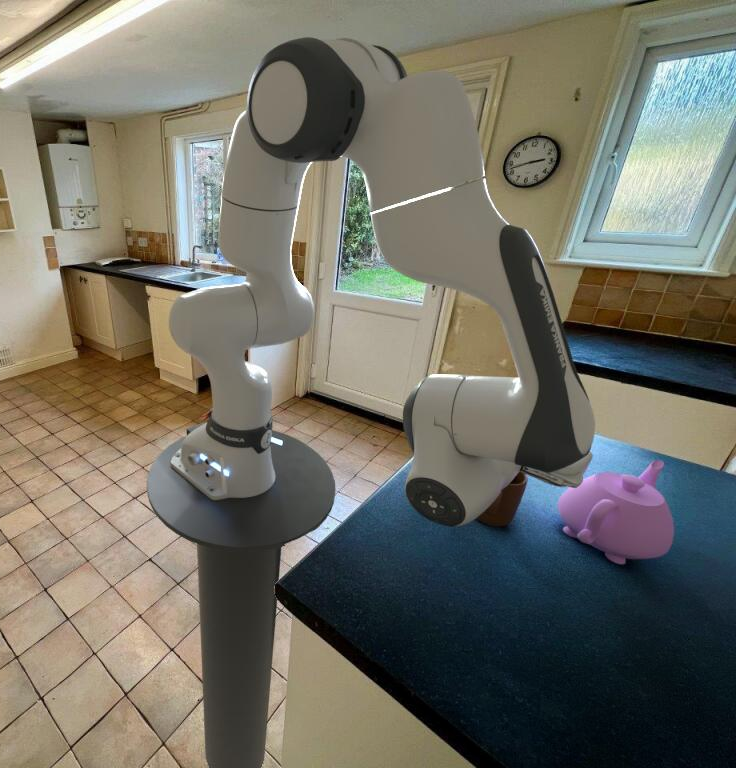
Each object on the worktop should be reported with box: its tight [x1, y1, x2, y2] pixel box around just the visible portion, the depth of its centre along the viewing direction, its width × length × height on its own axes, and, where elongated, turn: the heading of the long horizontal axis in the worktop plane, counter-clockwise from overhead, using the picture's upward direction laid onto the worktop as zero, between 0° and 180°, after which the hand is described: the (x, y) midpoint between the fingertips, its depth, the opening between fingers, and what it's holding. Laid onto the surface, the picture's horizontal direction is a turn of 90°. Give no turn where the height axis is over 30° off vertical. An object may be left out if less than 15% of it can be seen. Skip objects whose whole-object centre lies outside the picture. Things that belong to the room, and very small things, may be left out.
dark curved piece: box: [475, 472, 529, 527], centre depth 72 cm, size 12×8×9 cm, turn 141°
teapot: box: [557, 459, 675, 565], centre depth 68 cm, size 20×14×12 cm
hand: (519, 420), depth 66 cm, fingers closed on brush, 3 cm apart
